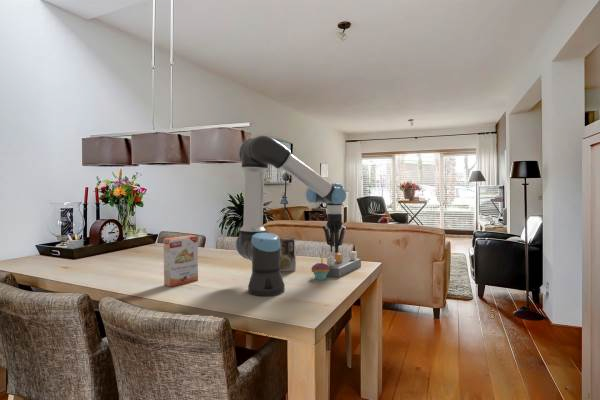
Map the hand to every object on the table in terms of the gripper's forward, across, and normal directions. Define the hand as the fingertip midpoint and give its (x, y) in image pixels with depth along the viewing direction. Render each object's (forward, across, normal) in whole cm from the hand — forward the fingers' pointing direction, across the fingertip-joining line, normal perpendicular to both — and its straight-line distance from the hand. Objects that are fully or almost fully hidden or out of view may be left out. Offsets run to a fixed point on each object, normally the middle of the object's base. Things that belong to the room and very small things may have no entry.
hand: (334, 258), depth 180 cm
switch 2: (+1, -3, 0) cm, 3 cm away
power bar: (+5, -5, 0) cm, 7 cm away
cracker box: (+6, +48, +58) cm, 75 cm away
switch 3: (+1, -7, -9) cm, 11 cm away
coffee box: (+6, +20, +14) cm, 25 cm away
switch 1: (+1, -3, +9) cm, 10 cm away
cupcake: (+6, -2, +19) cm, 20 cm away
